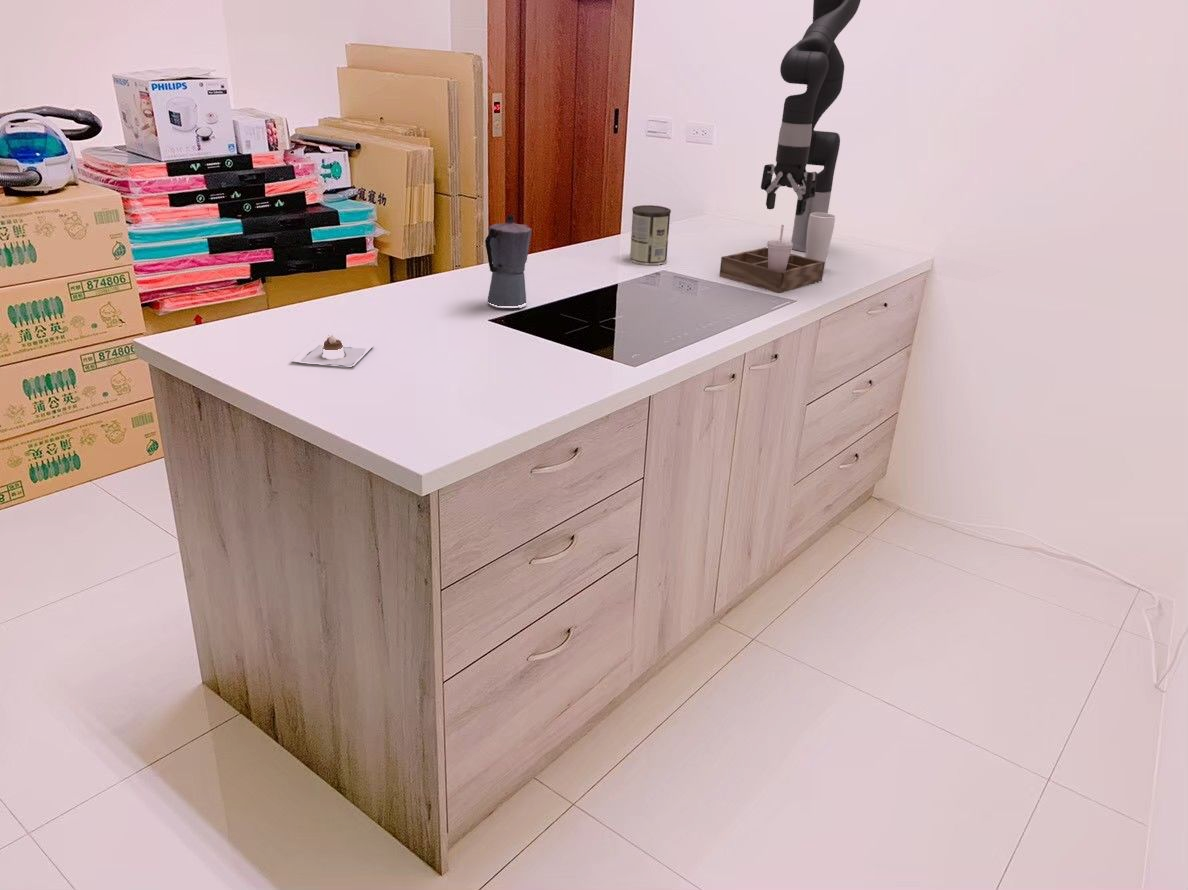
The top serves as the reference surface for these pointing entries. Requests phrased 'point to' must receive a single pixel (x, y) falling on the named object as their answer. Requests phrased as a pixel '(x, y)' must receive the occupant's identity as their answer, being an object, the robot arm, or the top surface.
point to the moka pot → (507, 262)
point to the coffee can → (649, 234)
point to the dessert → (332, 344)
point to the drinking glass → (819, 235)
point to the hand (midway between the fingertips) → (784, 211)
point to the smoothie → (778, 253)
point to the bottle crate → (771, 270)
